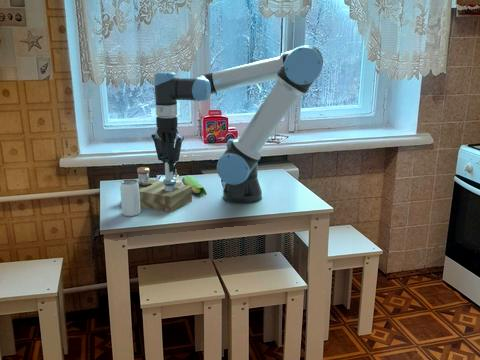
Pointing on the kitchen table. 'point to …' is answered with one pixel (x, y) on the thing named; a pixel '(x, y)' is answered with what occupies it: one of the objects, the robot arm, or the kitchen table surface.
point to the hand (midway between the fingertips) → (169, 179)
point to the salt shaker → (169, 185)
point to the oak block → (164, 196)
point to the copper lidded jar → (143, 176)
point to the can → (130, 197)
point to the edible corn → (194, 185)
